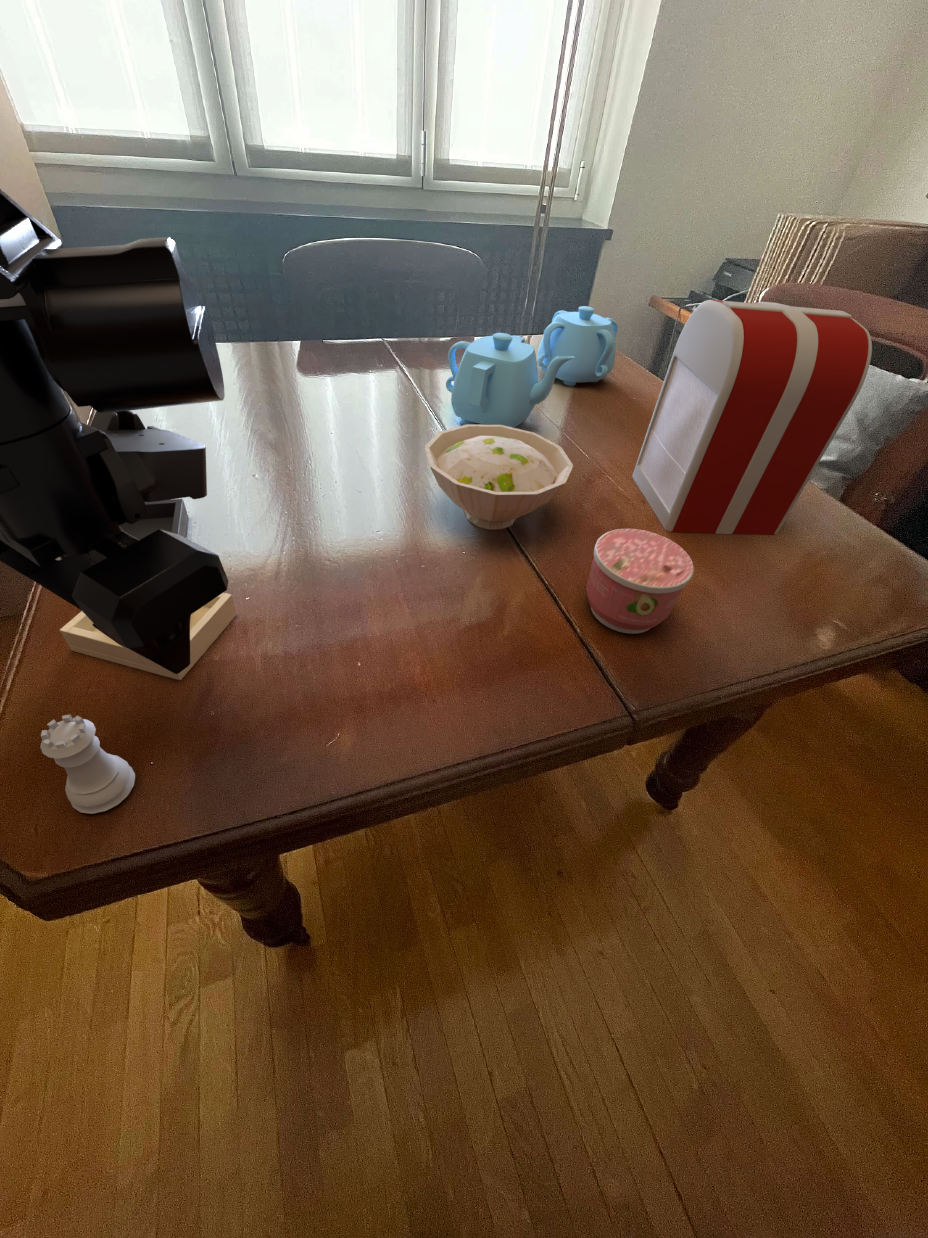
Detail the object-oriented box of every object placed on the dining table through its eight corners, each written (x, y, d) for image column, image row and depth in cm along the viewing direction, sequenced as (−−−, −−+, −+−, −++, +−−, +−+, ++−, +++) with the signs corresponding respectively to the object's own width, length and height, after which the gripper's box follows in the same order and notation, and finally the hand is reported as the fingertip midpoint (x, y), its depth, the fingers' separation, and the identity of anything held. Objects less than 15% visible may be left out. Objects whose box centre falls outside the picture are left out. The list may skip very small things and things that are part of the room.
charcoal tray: (183, 569, 62) (176, 549, 60) (87, 578, 59) (77, 558, 57) (188, 517, 69) (183, 498, 67) (103, 524, 67) (94, 504, 65)
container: (560, 608, 63) (576, 552, 57) (607, 571, 69) (625, 517, 64) (641, 657, 58) (667, 601, 53) (683, 612, 64) (710, 558, 59)
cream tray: (71, 650, 52) (58, 629, 50) (139, 589, 59) (130, 569, 57) (180, 680, 51) (172, 660, 49) (237, 614, 57) (231, 594, 56)
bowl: (456, 570, 66) (464, 498, 59) (400, 490, 78) (401, 423, 72) (586, 541, 73) (606, 474, 67) (516, 472, 86) (527, 409, 79)
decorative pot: (546, 358, 127) (558, 292, 118) (614, 372, 124) (631, 306, 115) (526, 379, 116) (537, 308, 107) (600, 396, 113) (618, 324, 103)
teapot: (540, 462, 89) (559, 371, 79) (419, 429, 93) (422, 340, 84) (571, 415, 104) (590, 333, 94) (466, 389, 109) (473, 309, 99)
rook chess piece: (85, 765, 44) (41, 704, 38) (144, 763, 44) (110, 702, 39) (61, 818, 40) (10, 760, 35) (126, 815, 41) (85, 756, 36)
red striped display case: (630, 474, 89) (692, 284, 70) (730, 478, 91) (816, 295, 72) (666, 532, 77) (752, 322, 58) (781, 535, 79) (899, 334, 61)
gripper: (266, 406, 27) (322, 624, 38) (64, 337, 35) (160, 536, 46) (42, 510, 21) (187, 737, 32) (-148, 397, 28) (23, 613, 39)
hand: (140, 640), depth 37 cm, fingers open, 9 cm apart
